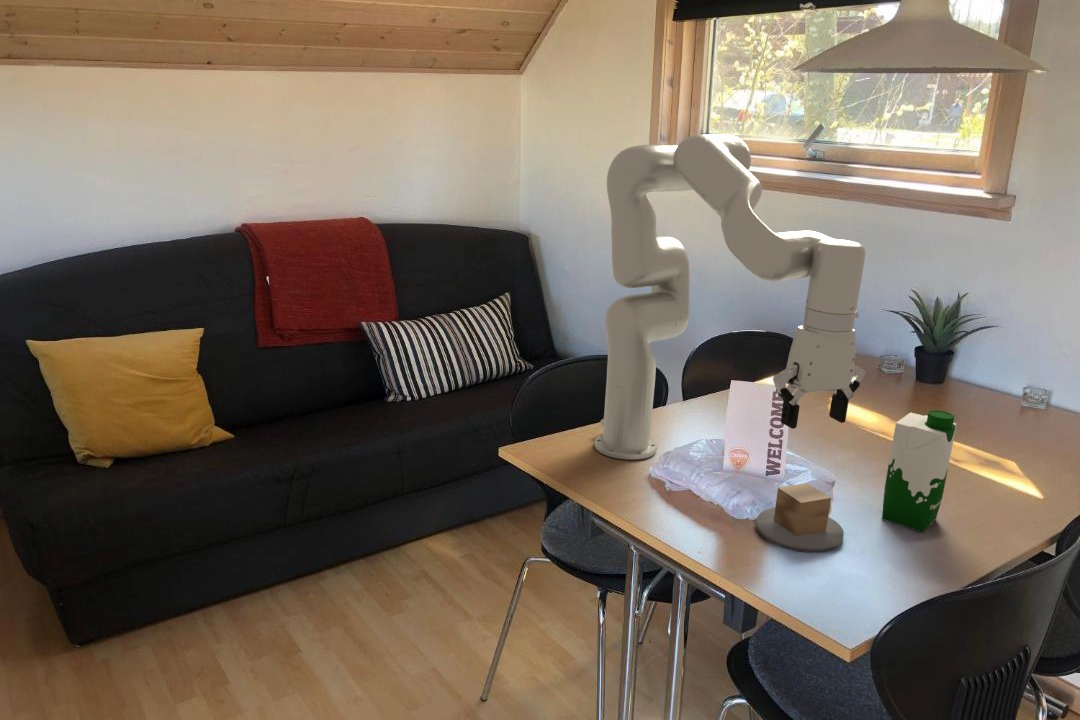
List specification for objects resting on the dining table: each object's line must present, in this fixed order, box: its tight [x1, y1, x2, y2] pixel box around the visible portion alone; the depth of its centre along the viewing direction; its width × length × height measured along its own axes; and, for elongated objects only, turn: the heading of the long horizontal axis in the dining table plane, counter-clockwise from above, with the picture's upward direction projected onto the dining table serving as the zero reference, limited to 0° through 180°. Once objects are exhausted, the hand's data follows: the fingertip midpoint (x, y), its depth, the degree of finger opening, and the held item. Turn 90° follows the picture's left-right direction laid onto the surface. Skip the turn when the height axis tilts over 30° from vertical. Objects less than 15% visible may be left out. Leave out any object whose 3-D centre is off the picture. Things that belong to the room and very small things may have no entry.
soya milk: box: [881, 410, 958, 533], centre depth 153 cm, size 9×9×20 cm
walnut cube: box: [774, 482, 832, 536], centre depth 148 cm, size 6×6×6 cm
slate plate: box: [755, 506, 845, 554], centre depth 149 cm, size 14×14×1 cm
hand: (812, 422), depth 144 cm, fingers open, 9 cm apart
